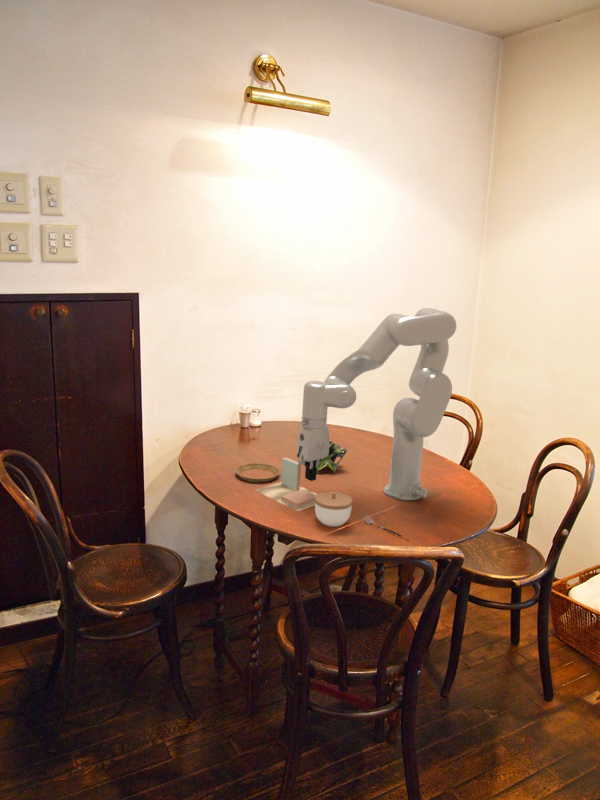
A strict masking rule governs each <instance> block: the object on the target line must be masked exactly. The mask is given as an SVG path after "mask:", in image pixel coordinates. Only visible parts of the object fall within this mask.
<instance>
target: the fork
mask: <svg viewBox="0 0 600 800" xmlns="http://www.w3.org/2000/svg"><path fill="white" fill-rule="evenodd" d="M362 517H363V519H364V520H365V522H366V523H367V524H368V525H369V524H370V523H373V522H375V520H374V519H372V517H370V515H369V514H366V515H365V516H362ZM380 527H381V528H380V529H382V528H383V529H384V531H385V530H387V531H389V532H391V533H393V534H396V535H398V536H401V537H402V536H403V535H401V534H400V533H398V532H396V531H393V530H391V529H389V528H388V529H387V528H386V527H382V526H380ZM383 529H382V530H383ZM387 531H386V532H387ZM389 532H388V533H389ZM391 533H390V534H391ZM393 534H392V535H393ZM398 536H397V537H398ZM401 537H400V538H401Z"/></svg>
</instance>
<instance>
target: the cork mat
mask: <svg viewBox="0 0 600 800" xmlns="http://www.w3.org/2000/svg"><path fill="white" fill-rule="evenodd" d="M302 489H303V490H305V491H307V492H310V493H312V494H314V495H317V494H318V493H316V492H314V491H312V490H309V489H307V488H305V487H303V486H301V485H300V490H302ZM254 491H255V492H257V493H259V494H261V495H264V496H265V497H267V498H269V499H271V500H274V501H276V502H278V503H280V504H281V505H284V506H285V507H288V508H290V509H292V510H294V511H296V512H301V511H302V510H305V509H309V508H311V507H315V502H314V503H311V504H309V505H306V506H303V507H300V508H295V507H292V506H290V505H288V504H286V503H284V502H282V501H281V496H283V495H286V494H289V493H292V492H296V491H295V490H293V489H291V488H288V487H286V486H284V485H282V484H281V481H280V482H276V483H273V484H270V485H269V484H268V485H266V486H263V487H260V488H256V489H254ZM297 491H299V490H297Z"/></svg>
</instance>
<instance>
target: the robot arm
mask: <svg viewBox="0 0 600 800" xmlns="http://www.w3.org/2000/svg"><path fill="white" fill-rule="evenodd" d="M456 330H457V322H456V319H455V317H454V316H453V315H452V314H450V313H448V312H447V311H443V310H438V309H435V308H429V307H424V308H423V307H422V308H421V309H419V310H417V312H416V313H415V314H414V316H409V315H405V314H401V313H390V314H389V315H387V316H386V317H385V318H384V319H383V320H382V321H381V323H380V324H379V325H378V326H377V327H376V328H375V329H374V331H373V332H372V333H371V334H370V335H369V336H368V338H367V339H366V341H364V342H363V344H361V346H360V347H359V348H358V349H357V350H355V351H354V352H352V353H351V354H350V355H348V356H347V357H345V358H344V359H343V360H342V361H341V362H339V363H338V364H337V365H336V366H335V367H334V369H332V370H331V372H330V373H329V374H328V375H327V377H326V378H325V380H324V381H320V380H319V381H318V380H310V381H307V382H305V383H304V385H303V392H302V393H303V394H302V396H303V397H302V411H301V412H302V413H301V415H302V416H301V421H300V429H299V432H298V438H297V444H296V457H297V458H298V459H297V462H298V464H301V466H304V467H305V473H304V477H305V479H306V480H308V481H311V482H313V481H316V480H317V472H318V471H317V467H318V466H319V462H320V461H321V460H322V459H324V458H325V457H327V456H328V454H329V441H330V431H329V427H328V426H329V425H327V423H328V422H327V420H328V409H329V408H336V409H347V408H351V406H353V405H354V404H355V402H356V401H357V392H356V390H355V388H354V387H353V386H351V384H352V383H353V382H354V380H356V379H357V378H358V377H359V376H361V375H362V374H364V373H367V372H369V371H374V370H376V369H379V368H381V367H382V366H384V364H385V363H386V362H387V360H388V359H389V358H390V356H392V355H393V353H394V352H395V350H397V348H399V346H405V347H412V346H413V347H414V346H420V351H419V355H418V357H417V360H416V362H415V364H414V367H413V369H412V372H411V375H410V378H409V381H408V386H409V389H410V391H411V392H412V393H413V394H414V395H416V396H418V397H419V399H416V398H413V397H405V398H402V399H400V400H398V402H397V403H396V404H395V406H394V408H393V412H392V421H393V439H392V441H393V442H392V447H391V448H392V450H391V451H392V452H391V459H390V460H391V461H390V470H389V471H390V472H389V480H388V483H387V484H386V485H384V486H383V492H384V494H385V495H387V497H390V498H392V499H396V500H399V501H416V500H420V499H421V498H424V499H425V498H426V497H427V496H428V493H429V490H428V489H427V488H423V483H422V482H421V481H420V478H421V470H422V460H423V449H424V438H427V437H430V436H432V435H434V433H436V431H437V430H438V428H439V426H440V424H441V422H442V420H443V417H444V415H445V412H446V410H447V407H448V405H449V402H450V400H451V398H452V393H453V384H452V380H451V378H450V377H449V376H447V374H445V373H443V371H444V369H445V365H446V363H447V360H448V356H449V349H450V348H449V347H450V345H449V340H450V338H452V337H453V336H454V335H455V332H456Z"/></svg>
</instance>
